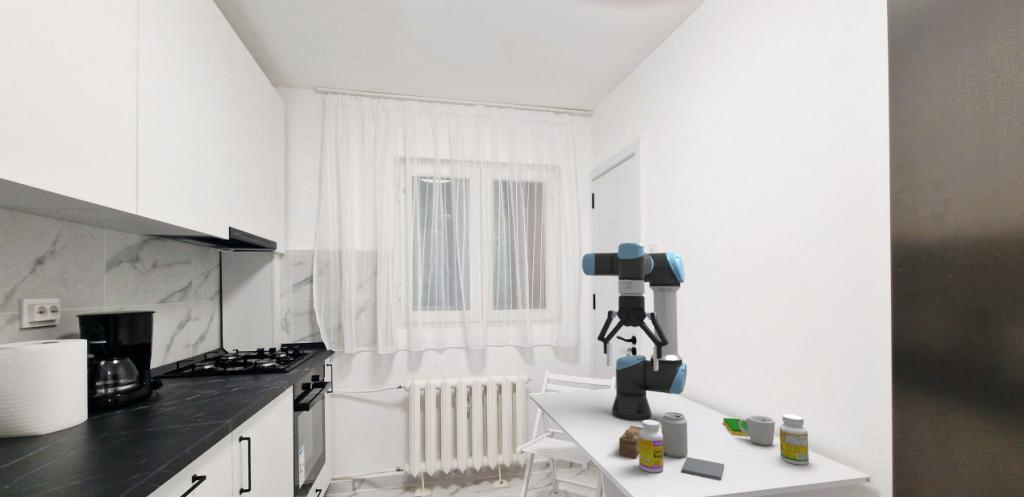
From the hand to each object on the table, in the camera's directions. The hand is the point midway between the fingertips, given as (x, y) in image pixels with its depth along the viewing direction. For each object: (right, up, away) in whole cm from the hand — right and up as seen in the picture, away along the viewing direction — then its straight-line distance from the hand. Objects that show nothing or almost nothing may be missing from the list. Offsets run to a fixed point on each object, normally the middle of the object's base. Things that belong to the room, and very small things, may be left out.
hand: (632, 367), depth 129 cm
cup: (+47, -30, +18) cm, 59 cm away
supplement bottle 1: (+5, -28, -3) cm, 29 cm away
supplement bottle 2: (+50, -29, +3) cm, 57 cm away
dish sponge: (+47, -31, +31) cm, 64 cm away
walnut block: (+3, -29, +11) cm, 31 cm away
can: (+15, -29, +7) cm, 34 cm away
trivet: (+19, -28, -4) cm, 34 cm away
